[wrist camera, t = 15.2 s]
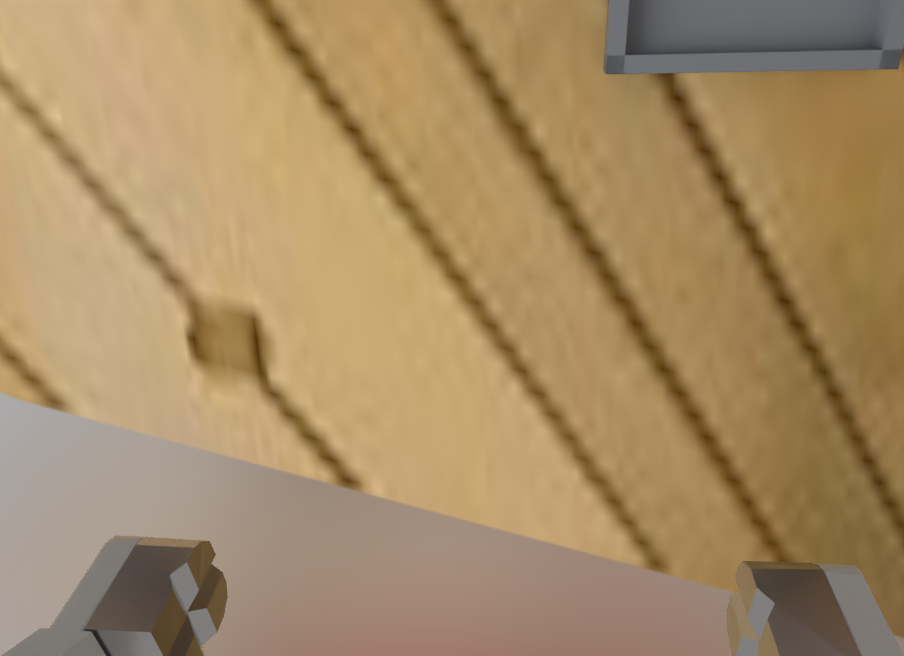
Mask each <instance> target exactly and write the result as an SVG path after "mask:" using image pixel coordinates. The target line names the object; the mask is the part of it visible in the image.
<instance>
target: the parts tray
mask: <svg viewBox="0 0 904 656" xmlns="http://www.w3.org/2000/svg"><path fill="white" fill-rule="evenodd" d="M903 47H904V0H608V11H607V26H606V41H605V56H604V72H605V73H606V74H643V73H700V72H757V71H814V70H871V69H898V67H899V63H900V59H901V55H902V51H903Z"/></svg>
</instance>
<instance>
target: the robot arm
mask: <svg viewBox="0 0 904 656" xmlns="http://www.w3.org/2000/svg"><path fill="white" fill-rule="evenodd" d="M215 555H216V554H215V552H214V550H213V548H212V546H211V544H210V541H200V540H184V539H169V538H153V537H137V536H115V537H114V538H112V539H111V540H109V541H108V542H107V543H106V544H105V545H104V546H103V548H102V549H101V551H100V552H99V554H98V556H97V557H96V558H95V560H94V561H93V563H92V565H91V566H90V568H89V569H88V570H87V572H86V573H85V575H84V577H83V578H82V580H81V581H80V583H79V584H78V586H77V587H76V589H75V590H74V592H73V593H72V595H71V596H70V598H69V599H68V601H67V602H66V604H65V605H64V607H63V609H62V610H61V611H60V613H59V614H58V616H57V617H56V619H55V621H54V622H53V623H52V625H51V627H50V628H40V629H38V630H37V631H36V632H34V633H33V634H32V635H30V636H29V637H27V638H26V639H24V640H23V641H22V642H20V643H19V644H17V645H16V646H15V647H13V648H12V649H10V650H9V651H7V652H6V653H5V654H3V655H2V656H205V655H204V651H203V647H202V645H203V644H204V643H206V641H208V640H209V639H210V638H211V637H212V636H214V635H215V634H216V633H217V632H218V629H219V626H220V624H221V622H222V619H223V617H224V613H225V607H226V601H227V584H226V580H225V577H224V575H223V572H221V571H220V570H219V569H217V568H216V567H215V566H213V565H212V564H211V563H212V561H213V559H214V557H215ZM736 580H737V583H738V587H739V590H738V591H737V592H735V593H734V594H732V595H731V596H730V599H729V604H728V609H727V631H728V637H729V643H730V648H731V651H732V655H733V656H904V655H903V653H902V651H901V649H900V647H899V645H898V643H897V641H896V640H895V637H894V635H893V633H892V632H891V630H890V628H889V626H888V624H887V622H886V620H885V618H884V616H883V614H882V612H881V610H880V608H879V606H878V604H877V602H876V600H875V598H874V596H873V594H872V592H871V590H870V588H869V586H868V584H867V582H866V580H865V578H864V576H863V574H862V572H861V571H860V570H858V569H857V568H856V567H855V566H853V565H833V564H813V563H799V562H760V561H743V562H742V563H741V564H740V565H739V567H738V570H737V573H736Z"/></svg>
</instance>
